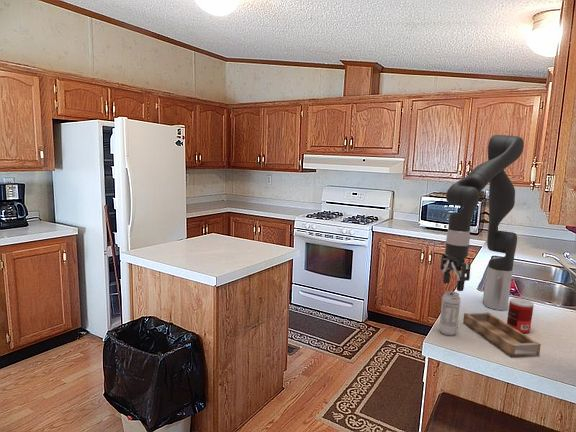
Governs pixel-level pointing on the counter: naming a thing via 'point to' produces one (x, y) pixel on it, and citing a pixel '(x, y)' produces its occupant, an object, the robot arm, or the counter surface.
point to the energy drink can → (449, 313)
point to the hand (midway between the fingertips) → (452, 286)
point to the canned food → (520, 314)
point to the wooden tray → (502, 335)
